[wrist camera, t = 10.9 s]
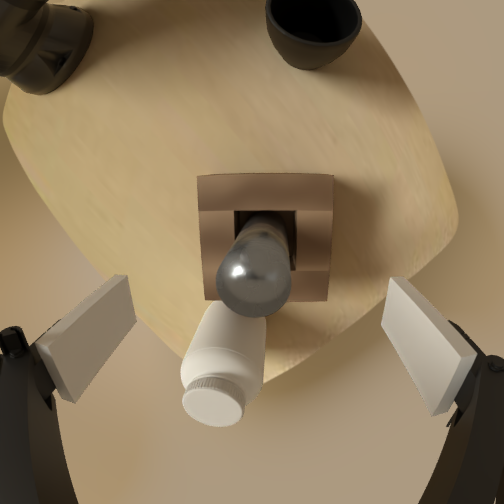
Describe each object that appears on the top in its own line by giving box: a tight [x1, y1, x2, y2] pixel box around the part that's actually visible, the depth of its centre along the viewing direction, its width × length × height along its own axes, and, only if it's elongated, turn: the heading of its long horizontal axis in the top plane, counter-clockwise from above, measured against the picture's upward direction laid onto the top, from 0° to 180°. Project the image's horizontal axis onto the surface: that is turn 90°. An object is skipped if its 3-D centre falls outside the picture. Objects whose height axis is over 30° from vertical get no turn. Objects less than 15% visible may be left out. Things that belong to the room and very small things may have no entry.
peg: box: [216, 210, 291, 318], centre depth 23 cm, size 4×4×14 cm
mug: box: [265, 0, 362, 70], centre depth 20 cm, size 8×12×10 cm
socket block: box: [197, 173, 334, 302], centre depth 28 cm, size 12×12×6 cm
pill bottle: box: [181, 301, 267, 427], centre depth 27 cm, size 8×8×15 cm
